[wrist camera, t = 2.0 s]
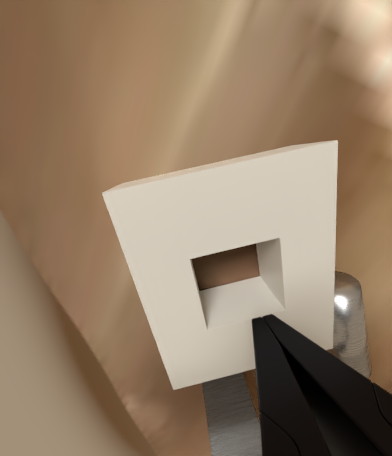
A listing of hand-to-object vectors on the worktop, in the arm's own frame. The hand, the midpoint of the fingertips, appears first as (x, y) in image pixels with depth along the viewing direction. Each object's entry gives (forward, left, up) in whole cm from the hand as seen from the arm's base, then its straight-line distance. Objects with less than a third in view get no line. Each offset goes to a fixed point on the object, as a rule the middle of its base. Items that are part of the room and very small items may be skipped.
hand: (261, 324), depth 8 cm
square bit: (-10, +2, -6) cm, 12 cm away
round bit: (-7, -9, -5) cm, 12 cm away
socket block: (0, 0, -6) cm, 6 cm away
